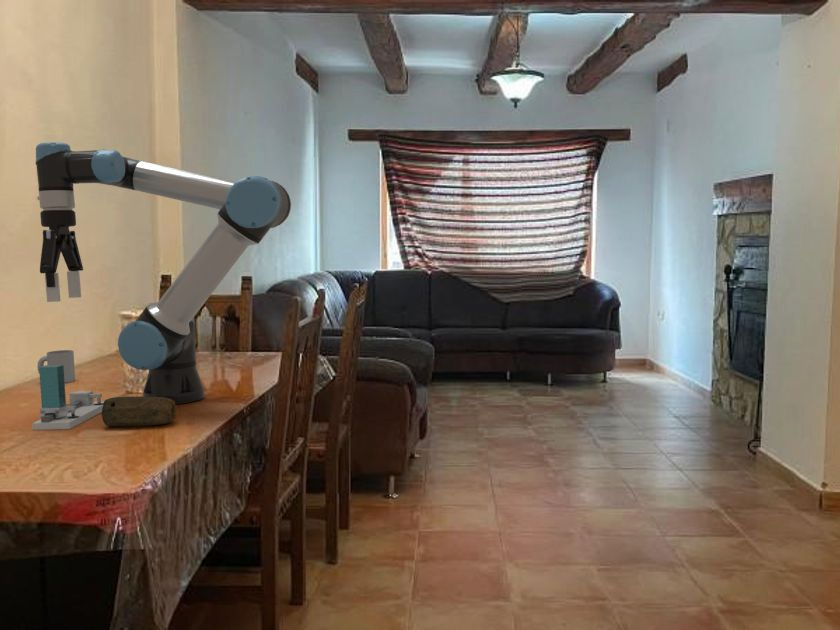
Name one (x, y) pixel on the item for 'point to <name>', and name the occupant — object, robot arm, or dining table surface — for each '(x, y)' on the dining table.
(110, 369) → the dining table surface
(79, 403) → the gauge plate
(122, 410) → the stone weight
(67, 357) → the cup
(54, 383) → the block
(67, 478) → the dining table surface
